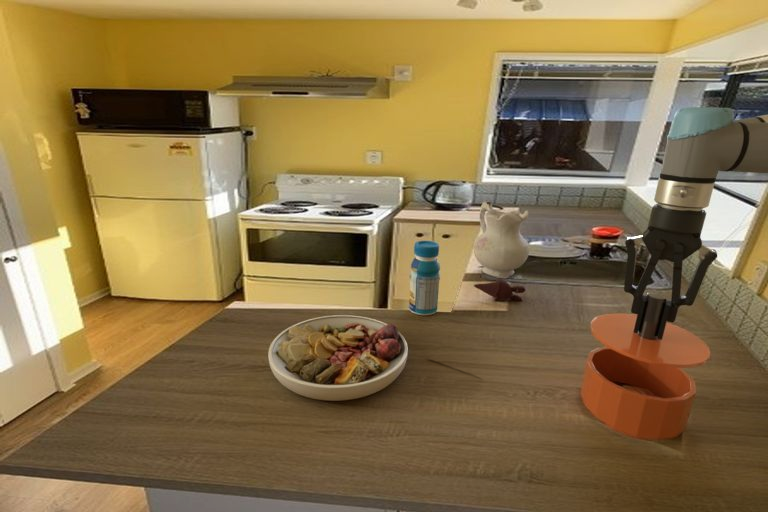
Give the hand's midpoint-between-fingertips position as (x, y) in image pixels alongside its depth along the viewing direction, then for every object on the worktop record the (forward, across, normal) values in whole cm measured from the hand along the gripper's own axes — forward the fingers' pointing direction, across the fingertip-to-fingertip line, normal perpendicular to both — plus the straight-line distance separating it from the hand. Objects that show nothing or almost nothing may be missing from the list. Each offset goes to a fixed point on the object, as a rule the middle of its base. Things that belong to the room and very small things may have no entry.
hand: (647, 332), depth 77 cm
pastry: (+16, 0, 0) cm, 16 cm away
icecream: (+17, -39, +34) cm, 54 cm away
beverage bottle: (+17, -54, +14) cm, 58 cm away
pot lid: (+1, 0, 0) cm, 1 cm away
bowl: (+17, -55, -22) cm, 61 cm away
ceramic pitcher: (+17, -49, +59) cm, 78 cm away
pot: (+17, 0, 0) cm, 17 cm away
